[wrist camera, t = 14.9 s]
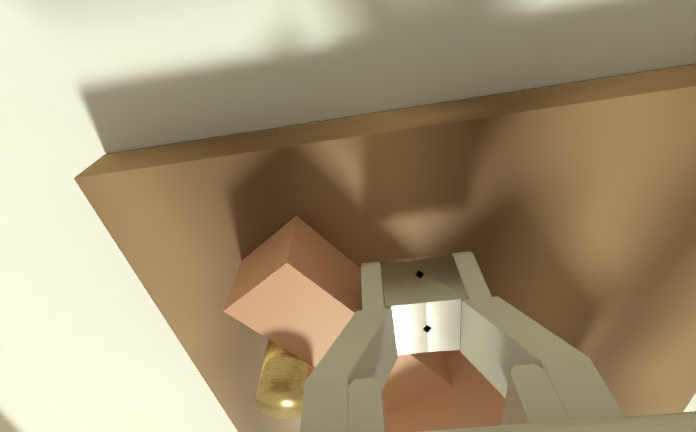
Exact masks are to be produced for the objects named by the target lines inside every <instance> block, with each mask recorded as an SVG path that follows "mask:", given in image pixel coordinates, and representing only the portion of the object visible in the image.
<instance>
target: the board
mask: <svg viewBox="0 0 696 432" xmlns="http://www.w3.org/2000/svg"><path fill="white" fill-rule="evenodd" d="M74 179H75V181H76V182H77V184H78V185H79V187H80V188H81V190H82V191H83V193H84V195H85V196H86V198H87V199H88V201H89V202H90V204H91V205H92V207H93V208H94V210H95V211H96V213H97V215H98V216H99V218H100V219H101V221H102V222H103V224H104V225H105V227H106V228H107V230H108V232H109V233H110V235H111V236H112V238H113V239H114V241H115V242H116V244H117V245H118V247H119V249H120V250H121V252H122V253H123V255H124V256H125V258H126V259H127V261H128V262H129V264H130V265H131V267H132V269H133V270H134V272H135V273H136V275H137V276H138V278H139V279H140V281H141V282H142V284H143V286H144V287H145V289H146V290H147V292H148V293H149V295H150V296H151V298H152V299H153V301H154V303H155V304H156V306H157V307H158V309H159V310H160V312H161V313H162V315H163V316H164V318H165V319H166V321H167V323H168V324H169V326H170V327H171V329H172V330H173V332H174V333H175V335H176V336H177V338H178V340H179V341H180V343H181V344H182V346H183V347H184V349H185V350H186V352H187V353H188V355H189V357H190V358H191V360H192V361H193V363H194V364H195V366H196V367H197V369H198V370H199V372H200V373H201V375H202V377H203V378H204V380H205V381H206V383H207V384H208V386H209V387H210V389H211V390H212V392H213V394H214V395H215V397H216V398H217V400H218V401H219V403H220V404H221V406H222V407H223V409H224V410H225V412H226V414H227V415H228V417H229V418H230V420H231V421H232V423H233V424H234V426H235V427H236V429H237V431H238V432H300V423H301V417H298V418H293V419H279V418H274V417H270V416H267V415H265V414H263V413H262V412H260V411H259V410H258V409H257V407H256V405H255V398H256V394H257V389H258V384H259V380H260V375H261V370H262V366H263V361H264V356H265V352H266V347H267V342H268V338H266V337H264V336H263V335H261V334H260V333H258V332H256V331H255V330H253V329H251V328H250V327H248V326H246V325H245V324H243V323H242V322H240V321H238V320H237V319H235V318H233V317H232V316H230V315H228V314H227V313H225V312H224V308H225V305H226V302H227V299H228V297H229V294H230V291H231V288H232V286H233V283H234V280H235V277H236V274H237V272H238V269H239V266H240V263H241V261H242V260H243V259H244V258H246V257H247V256H248V255H249V254H250V253H252V252H253V251H254V250H255V249H256V248H258V247H259V246H260V245H261V244H263V243H264V242H265V241H266V240H267V239H269V238H270V237H271V236H272V235H273V234H275V233H276V232H277V231H278V230H280V229H281V228H282V227H283V226H284V225H286V224H287V223H288V222H289V221H290V220H292V219H293V218H294V217H295V216H296V215H297V216H298V217H299V218H300V219H301V220H303V221H304V222H305V223H306V224H307V225H309V226H310V227H311V228H312V229H313V230H315V231H316V232H317V233H318V234H320V235H321V236H322V237H323V238H324V239H326V240H327V241H328V242H329V243H330V244H332V245H333V246H334V247H335V248H337V249H338V250H339V251H340V252H341V253H343V254H344V255H345V256H346V257H347V258H349V259H350V260H351V261H352V262H354V263H355V264H356V265H357V266H358V267H360V268H361V264H362V263H371V262H380V264H381V261H389V260H401V259H412V258H421V257H429V256H438V255H446V254H452V253H459V252H467V251H471V252H472V253H473V254H474V257H475V259H476V261H477V264H478V266H479V268H480V270H481V273H482V275H483V277H484V280H485V282H486V284H487V287H488V289H489V291H490V293H491V296H492V297H496V296H498V297H500V298H501V299H503V300H504V301H506V302H507V303H509V304H510V305H512V306H513V307H515V308H516V309H518V310H519V311H521V312H522V313H524V314H525V315H527V316H528V317H530V318H531V319H532V320H534V321H535V322H537V323H538V324H540V325H541V326H543V327H544V328H546V329H547V330H549V331H550V332H552V333H553V334H555V335H556V336H558V337H559V338H561V339H562V340H564V341H565V342H567V343H568V344H570V345H571V346H573V347H574V348H576V349H577V350H579V351H580V352H582V353H583V354H584V355H586V356H587V357H589V358H590V359H591V361H592V363H593V364H594V366H595V368H596V369H597V371H598V373H599V374H600V376H601V377H602V379H603V381H604V382H605V384H606V386H607V387H608V389H609V391H610V392H611V394H612V396H613V397H614V399H615V400H616V402H617V404H618V405H619V407H620V409H621V410H622V412H623V414H624V415H625V417H626V416H640V415H653V414H667V413H681V412H683V411H684V409H685V408H686V406H687V405H688V403H689V402H690V400H691V399H692V397H693V396H694V394H695V393H696V64H691V65H685V66H678V67H672V68H665V69H659V70H652V71H645V72H639V73H632V74H626V75H619V76H613V77H606V78H600V79H593V80H587V81H580V82H574V83H567V84H561V85H554V86H548V87H541V88H535V89H528V90H522V91H515V92H508V93H502V94H495V95H489V96H482V97H476V98H469V99H463V100H456V101H450V102H443V103H437V104H430V105H424V106H417V107H411V108H404V109H398V110H391V111H385V112H378V113H371V114H365V115H358V116H352V117H345V118H339V119H332V120H326V121H319V122H313V123H306V124H300V125H293V126H287V127H280V128H274V129H267V130H261V131H254V132H248V133H241V134H234V135H228V136H221V137H215V138H208V139H202V140H195V141H189V142H182V143H176V144H169V145H163V146H156V147H150V148H143V149H137V150H130V151H124V152H117V153H111V154H105V155H103V156H102V157H101V158H100V159H98V160H97V161H96V162H94V163H93V164H92V165H91V166H89V167H88V168H87V169H85V170H84V171H83V172H81V173H80V174H79V175H78V176H76V177H75V178H74Z"/></svg>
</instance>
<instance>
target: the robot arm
mask: <svg viewBox="0 0 696 432" xmlns="http://www.w3.org/2000/svg"><path fill="white" fill-rule="evenodd" d="M361 286H362V310H358V311H356V312H355V314H354V315H353V317H352V318H351V319H350V321H349V322H348V323H347V325H346V326H345V328H344V329H343V330H342V332H341V333H340V334H339V336H338V337H337V339H336V340H335V341H334V343H333V344H332V345H331V347H330V348H329V350H328V351H327V352H326V354H325V355H324V356H323V358H322V359H321V360H320V362H319V363H318V365H317V366H316V367H315V369H314V370H313V371H312V373H311V374H310V376H309V377H308V378H307V380H306V381H305V387H304V396H303V405H302V414H301V423H300V432H389V429H388V423H387V418H386V412H385V406H384V401H383V395H382V390H383V388H384V386H385V384H386V382H387V380H388V377H389V375H390V373H391V371H392V369H393V367H394V365H395V362H396V360H397V358H398V355H406V354H415V353H423V352H435V351H451V350H460V352H461V353H462V354H463V355H464V356H465V357H466V358H467V359H468V360H469V361H470V362H471V363H472V364H473V365H474V366H475V367H476V368H477V370H478V371H479V372H480V373H481V374H482V375H483V376H484V377H485V378H486V379H487V380H488V381H489V382H490V383H491V384H492V385H493V386H494V387H495V388H496V389H497V390H498V391H499V393H500V394H501V395H502V396H503V397H504V398H505V405H504V411H503V417H502V423H501V425H500V426H486V427H473V428H459V429H445V430H431V431H418V432H696V411H695V412H681V413H667V414H653V415H640V416H626V417H625V415H624V414H623V412H622V410H621V409H620V407H619V405H618V404H617V402H616V400H615V399H614V397H613V396H612V394H611V392H610V391H609V389H608V387H607V386H606V384H605V382H604V381H603V379H602V377H601V376H600V374H599V373H598V371H597V369H596V368H595V366H594V364H593V363H592V361H591V359H590V358H589V357H587V356H586V355H584V354H583V353H582V352H580V351H579V350H577V349H576V348H574V347H573V346H571V345H570V344H568V343H567V342H565V341H564V340H562V339H561V338H559V337H558V336H556V335H555V334H553V333H552V332H550V331H549V330H547V329H546V328H544V327H543V326H541V325H540V324H538V323H537V322H535V321H534V320H532V319H531V318H530V317H528V316H527V315H525V314H524V313H522V312H521V311H519V310H518V309H516V308H515V307H513V306H512V305H510V304H509V303H507V302H506V301H504V300H503V299H501V298H500V297H498V296H496V297H492V296H491V293H490V291H489V289H488V287H487V284H486V282H485V280H484V277H483V275H482V273H481V270H480V268H479V266H478V264H477V261H476V259H475V257H474V254H473V253H472V252H471V251H467V252H459V253H452V254H446V255H438V256H429V257H421V258H412V259H401V260H389V261H381V264H380V262H371V263H362V264H361Z"/></svg>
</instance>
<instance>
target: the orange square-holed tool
mask: <svg viewBox="0 0 696 432" xmlns="http://www.w3.org/2000/svg"><path fill="white" fill-rule="evenodd" d="M358 310H362V286H361V268H360V267H358V266H357V265H356V264H355V263H354V262H352V261H351V260H350V259H349V258H347V257H346V256H345V255H344V254H343V253H341V252H340V251H339V250H338V249H337V248H335V247H334V246H333V245H332V244H330V243H329V242H328V241H327V240H326V239H324V238H323V237H322V236H321V235H320V234H318V233H317V232H316V231H315V230H313V229H312V228H311V227H310V226H309V225H307V224H306V223H305V222H304V221H303V220H301V219H300V218H299V217H298V216H297V215H296V216H295V217H294V218H293V219H292V220H290V221H289V222H288V223H287V224H286V225H284V226H283V227H282V228H281V229H280V230H278V231H277V232H276V233H275V234H273V235H272V236H271V237H270V238H269V239H267V240H266V241H265V242H264V243H263V244H261V245H260V246H259V247H258V248H256V249H255V250H254V251H253V252H252V253H250V254H249V255H248V256H247V257H246V258H244V259H243V260H242V261H241V263H240V266H239V269H238V272H237V274H236V277H235V280H234V283H233V286H232V288H231V291H230V294H229V297H228V299H227V302H226V305H225V308H224V312H225V313H227V314H228V315H230V316H232V317H233V318H235V319H237V320H238V321H240V322H242V323H243V324H245V325H246V326H248V327H250V328H251V329H253V330H255V331H256V332H258V333H260V334H261V335H263V336H264V337H266V338H268V339H269V340H271V341H273V342H274V343H276V344H277V345H279V346H281V347H282V348H284V349H286V350H287V351H289V352H291V353H292V354H294V355H295V356H297V357H299V358H300V359H302V360H304V361H305V362H307V363H309V364H310V365H312V366H313V367H316V366H317V365H318V363H319V362H320V360H321V359H322V358H323V356H324V355H325V354H326V352H327V351H328V350H329V348H330V347H331V345H332V344H333V343H334V341H335V340H336V339H337V337H338V336H339V334H340V333H341V332H342V330H343V329H344V328H345V326H346V325H347V323H348V322H349V321H350V319H351V318H352V317H353V315H354V314H355V312H356V311H358ZM382 395H383V401H384V406H385V412H386V418H387V423H388V429H389V432H418V431H431V430H445V429H459V428H473V427H486V426H500V425H501V423H502V417H503V411H504V405H505V398H504V397H503V396H502V395H501V394H500V393H499V391H498V390H497V389H496V388H495V387H494V386H493V385H492V384H491V383H490V382H489V381H488V380H487V379H486V378H485V377H484V376H483V375H482V374H481V373H480V372H479V371H478V370H477V368H476V367H475V366H474V365H473V364H472V363H471V362H470V361H469V360H468V359H467V358H466V357H465V356H464V355H463V354H462V353H461V352H460V350H451V351H435V352H423V353H415V354H406V355H398V358H397V360H396V362H395V365H394V367H393V369H392V371H391V373H390V375H389V377H388V380H387V382H386V384H385V386H384V388H383V390H382Z"/></svg>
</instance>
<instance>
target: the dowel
mask: <svg viewBox="0 0 696 432" xmlns="http://www.w3.org/2000/svg"><path fill="white" fill-rule="evenodd" d="M314 369H315V367H313V366H312V365H310V364H309V363H307V362H305V361H304V360H302V359H300V358H299V357H297V356H295V355H294V354H292V353H291V352H289V351H287V350H286V349H284V348H282V347H281V346H279V345H277V344H276V343H274V342H273V341H271V340H269V339H268V342H267V347H266V352H265V356H264V361H263V366H262V370H261V375H260V380H259V384H258V389H257V394H256V398H255V405H256V407H257V409H258V410H259V411H260V412H262V413H263V414H265V415H267V416H270V417H274V418H279V419H293V418H298V417H301V414H302V405H303V396H304V387H305V381H306V380H307V378H308V377H309V376H310V374H311V373H312V371H313V370H314Z"/></svg>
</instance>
